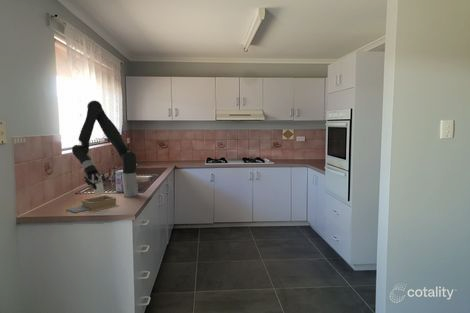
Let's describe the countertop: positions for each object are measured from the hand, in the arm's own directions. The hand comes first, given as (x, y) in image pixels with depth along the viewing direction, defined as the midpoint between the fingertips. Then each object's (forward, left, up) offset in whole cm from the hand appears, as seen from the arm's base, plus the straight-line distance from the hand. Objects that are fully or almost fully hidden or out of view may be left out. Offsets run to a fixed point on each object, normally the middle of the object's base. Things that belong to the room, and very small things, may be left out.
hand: (99, 188), depth 217 cm
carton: (0, -2, -12) cm, 12 cm away
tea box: (0, -2, -4) cm, 5 cm away
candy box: (-37, -33, -12) cm, 51 cm away
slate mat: (+14, -2, -12) cm, 19 cm away
